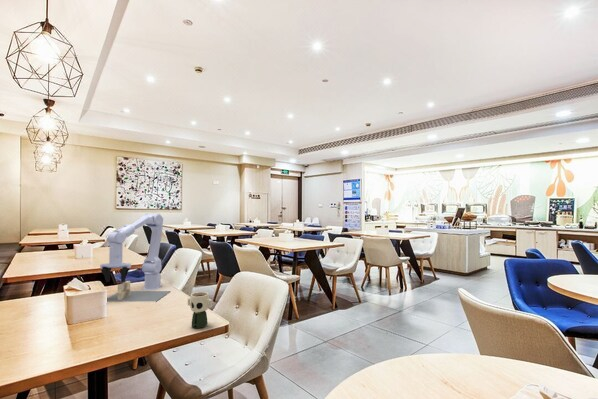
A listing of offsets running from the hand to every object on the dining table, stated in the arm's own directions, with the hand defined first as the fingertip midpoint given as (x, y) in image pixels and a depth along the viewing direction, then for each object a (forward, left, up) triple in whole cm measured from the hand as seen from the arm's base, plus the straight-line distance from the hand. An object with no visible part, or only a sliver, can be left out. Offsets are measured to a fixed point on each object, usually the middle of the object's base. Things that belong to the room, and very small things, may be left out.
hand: (115, 281), depth 153 cm
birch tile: (-4, +2, -9) cm, 10 cm away
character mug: (+33, +53, -10) cm, 63 cm away
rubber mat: (-6, +8, -10) cm, 14 cm away
